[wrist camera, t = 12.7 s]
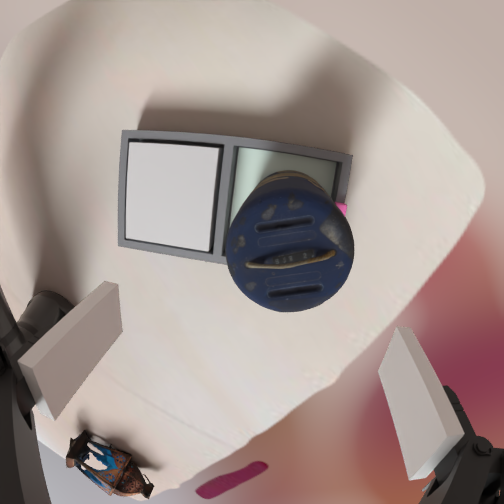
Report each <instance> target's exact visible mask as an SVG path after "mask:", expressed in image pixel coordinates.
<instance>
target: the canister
mask: <svg viewBox="0 0 504 504" xmlns="http://www.w3.org/2000/svg"><path fill="white" fill-rule="evenodd" d="M225 251H226V261H227V265H228V269H229V272H230V274H231V276H232V278H233V280H234V282H235V283H236V285H237V286H238V288H239V289H240V290H241V291H242V292H243V293H244V294H245V295H246V296H247V297H248V298H249V299H251V300H252V301H254V302H255V303H257V304H259V305H261V306H263V307H265V308H268V309H271V310H274V311H278V312H298V311H303V310H307V309H310V308H313V307H316V306H318V305H320V304H322V303H323V302H324V301H326V300H328V299H330V298H331V297H332V296H333V295H334V294H336V293H337V292H338V290H339V289H340V288H341V287H342V286H343V284H344V283H345V281H346V279H347V277H348V275H349V273H350V270H351V268H352V264H353V259H354V240H353V235H352V231H351V228H350V226H349V223H348V221H347V219H346V217H345V216H344V214H343V213H342V211H341V210H340V209H339V208H338V207H337V206H336V204H335V203H334V202H333V200H332V199H331V197H330V196H329V194H328V193H327V192H326V191H325V189H324V188H323V187H322V186H321V185H320V184H319V183H318V182H317V181H316V180H314V179H313V178H311V177H310V176H308V175H307V174H304V173H302V172H299V171H294V170H284V171H278V172H275V173H273V174H270V175H269V176H267V177H265V178H264V179H263V180H261V181H260V182H259V183H258V185H257V186H256V187H255V188H254V190H253V191H252V192H251V193H250V194H249V196H248V197H247V199H246V200H245V201H244V203H243V204H242V206H241V207H240V209H239V211H238V213H237V214H236V216H235V218H234V219H233V221H232V223H231V226H230V228H229V231H228V235H227V239H226V247H225Z"/></svg>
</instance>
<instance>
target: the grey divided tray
mask: <svg viewBox="0 0 504 504" xmlns="http://www.w3.org/2000/svg"><path fill="white" fill-rule="evenodd" d="M352 157H353V155H349V154H344V153H339V152H334V151H329V150H324V149H318V148H313V147H307V146H301V145H295V144H288V143H282V142H275V141H267V140H260V139H252V138H244V137H234V136H225V135H214V134H202V133H189V132H172V131H148V130H122V137H121V149H120V164H119V185H118V246H120V247H126V248H132V249H137V250H143V251H149V252H154V253H160V254H166V255H172V256H177V257H183V258H189V259H195V260H201V261H207V262H213V263H219V264H225V265H227V261H226V251H225V247H226V239H227V235H228V231H229V228H230V226H231V223H232V221H233V219H234V218H235V216H236V214H237V213H238V211H239V209H240V207H241V206H242V204H243V203H244V201H245V200H246V199H247V197H248V196H249V194H250V193H251V192H252V191H253V190H254V188H255V187H256V186H257V185H258V183H259V182H260V181H261V180H263V179H264V178H265V177H267V176H269V175H270V174H273V173H275V172H278V171H284V170H294V171H299V172H302V173H304V174H307V175H308V176H310V177H311V178H313V179H314V180H316V181H317V182H318V183H319V184H320V185H321V186H322V187H323V188H324V189H325V191H326V192H327V193H328V194H329V196H330V197H331V199H332V200H333V202H334V203H335V204H336V206H337V207H338V208H339V209H340V210H341V211H342V213H343V214H344V216H345V214H346V209H347V205H346V204H344V202H345V197H346V192H347V186H348V181H349V175H350V169H351V163H352Z"/></svg>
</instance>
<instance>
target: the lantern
mask: <svg viewBox="0 0 504 504" xmlns="http://www.w3.org/2000/svg"><path fill="white" fill-rule="evenodd" d="M88 442H90V443H91V444H93V445H94V446H95V447H97V448H98V449H99V450H100V451H102V453H103V454H104V455H101V454H99V453H96V452H95V451H93V450H91V449H90V448H89V447H88V446H87V443H88ZM111 445H112V444H110V447H107V446H103V445H101V444H99V443H96V442H93V441H91V440H89V439H88V437H87V435H86V431H85V430H84V431H83V432H82V433H81V434H80V435H79V436H78V437H77V438H76V439H72V438H70V448H69V451H68V453H67V456H66V466H67V467H68V468H71V467H74V466H76V467H77V468H78V469H79V470H80V471H81V472H82V473H83V474H84V475H86V476H87V477H88V478H89V479H91V481H92V482H94V483H95V484H96V485H97V486H98V487H99V488H101V489H102V490H103V491H105V492H106V493H107V494H108V495H110V496H111V495H112V493H114V494H116V495H119V496H131V495H135V494H140V493H141V494H142V495H143V496H144V497H145V498H148V499H149V497H150V494H151V492H152V490H153V487H154V485H153V484H152V483H150V481H149V479H148V478H147V477H146V475H145V474H143V475H144V476H145V477H146V478H147V480H148V481H149V484H146V482H145V480H144V478H143V476H142V474H141V472H140V470H139V469H138V467H137V466H136V465H135V464H133V463H132V462H130V461H129V460H130V459H131V457H132V456H131V455H129V454H126V453H123V452H120V451H118V450H115V449H112V447H111ZM89 452H91V453H93V455H94V456H95V457H97V458H96V459H97V460H98V461H101V462H102V464H104V465H106V466H107V469H105V470H96V469H93V468H92V467H90V466H88V465H87V464H86V463H84V461H85V460H86V459H88V460H89V454H88V453H89ZM87 454H88V455H87ZM81 465H82V466H83V467H85V468H86V469H87V470H83V469H82V468H81Z"/></svg>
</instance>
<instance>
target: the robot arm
mask: <svg viewBox="0 0 504 504" xmlns="http://www.w3.org/2000/svg"><path fill="white" fill-rule="evenodd" d="M122 332H123V330H122V321H121V312H120V301H119V289H118V284H116V283H111V282H107V281H104V282H103V283H102V284H101V285H100V286H98V287H97V288H96V289H95V290H94V291H93V292H91V293H90V294H89V295H88V296H87V297H86V298H85V299H83V300H82V301H81V302H80V303H79V304H78V305H77V306H76V307H74V306H73V305H72V304H71V303H70V302H68V301H67V300H66V299H65V298H63V297H62V296H60V295H59V294H57V293H54V292H51V291H43V292H40V293H38V294H37V295H36V296H34V297H33V298H32V299H31V300H30V301H29V303H28V305H27V308H26V310H25V311H24V313H23V314H22V315H21V317H20V319H19V321H18V322H17V323H16V321H15V319H14V317H13V314H12V312H11V310H10V308H9V305H8V303H7V301H6V298H5V296H4V293H3V291H2V288H1V286H0V504H51V501H50V497H49V493H48V489H47V486H46V481H45V477H44V473H43V469H42V464H41V459H40V453H39V448H38V442H37V436H36V429H35V421H34V414H33V411H32V408H33V406H34V405H35V404H36V406H37V408H38V410H39V412H40V414H42V415H44V416H46V417H48V418H50V419H52V420H54V421H55V420H56V419H57V417H58V416H59V415H60V413H61V412H62V411H63V409H64V408H65V406H66V405H67V404H68V402H69V401H70V400H71V398H72V397H73V395H74V394H75V393H76V391H77V390H78V389H79V387H80V386H81V385H82V383H83V382H84V381H85V379H86V378H87V377H88V375H89V374H90V373H91V371H92V370H93V369H94V368H95V366H96V365H97V364H98V362H99V361H100V360H101V358H102V357H103V356H104V355H105V353H106V352H107V351H108V349H109V348H110V347H111V346H112V344H113V343H114V342H115V341H116V339H117V338H118V337H119V335H120V334H121V333H122ZM378 373H379V376H380V379H381V382H382V385H383V388H384V392H385V395H386V398H387V401H388V405H389V408H390V411H391V415H392V418H393V422H394V425H395V428H396V432H397V435H398V439H399V443H400V447H401V450H402V454H403V458H404V462H405V466H406V470H407V474H408V478H409V480H415V479H421V478H426V477H427V476H428V475H429V474H430V473H431V472H432V471H433V470H434V471H435V475H436V477H435V478H434V479H432V480H431V482H429V483H428V484H427V485H426V486H425V487H424V488H423V490H422V491H425V490H426V489H427V488H428V489H427V490H426V492H425V494H424V496H423V497H422V499H421V501H420V503H419V504H504V449H500V448H493V446H492V444H491V443H490V442H489V441H488V440H487V439H486V438H484V437H481V436H476V434H475V432H474V430H473V428H472V426H471V424H470V421H469V419H468V417H467V415H466V413H465V412H464V411H463V407H462V405H461V404H460V401H459V399H458V398H457V395H456V394H455V393H454V392H453V391H452V390H451V389H450V388H449V387H448V386H442V385H441V383H440V381H439V379H438V377H437V375H436V373H435V371H434V369H433V368H432V366H431V364H430V362H429V360H428V358H427V356H426V355H425V353H424V351H423V349H422V347H421V345H420V344H419V342H418V340H417V338H416V337H415V335H414V333H413V331H412V330H411V328H409V327H396V330H395V332H394V334H393V337H392V340H391V342H390V344H389V347H388V350H387V352H386V354H385V356H384V359H383V361H382V364H381V366H380V368H379V370H378ZM499 490H500V496H499Z"/></svg>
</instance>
